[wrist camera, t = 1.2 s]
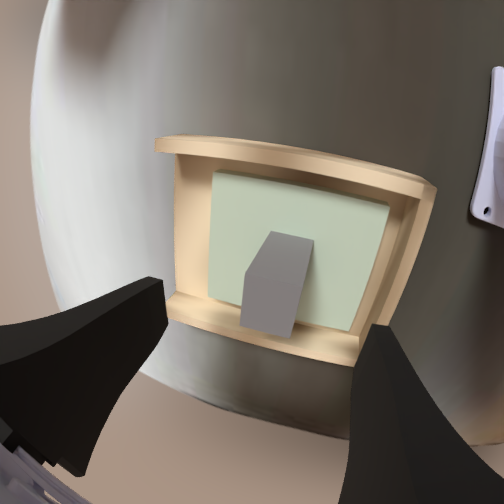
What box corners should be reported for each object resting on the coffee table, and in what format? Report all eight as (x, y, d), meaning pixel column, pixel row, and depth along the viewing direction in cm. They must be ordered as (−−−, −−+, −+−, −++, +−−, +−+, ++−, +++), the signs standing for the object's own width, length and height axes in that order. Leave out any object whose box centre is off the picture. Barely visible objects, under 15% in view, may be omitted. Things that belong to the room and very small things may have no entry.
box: (420, 176, 11) (437, 188, 9) (364, 339, 16) (365, 369, 14) (181, 134, 14) (155, 138, 12) (180, 293, 18) (161, 315, 16)
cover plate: (387, 201, 12) (410, 244, 8) (348, 322, 15) (345, 389, 11) (219, 169, 14) (166, 194, 9) (212, 289, 17) (174, 342, 13)
